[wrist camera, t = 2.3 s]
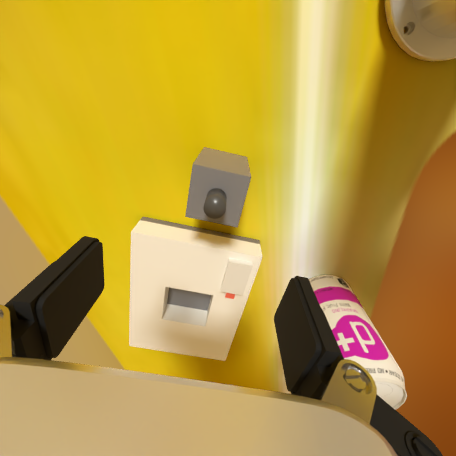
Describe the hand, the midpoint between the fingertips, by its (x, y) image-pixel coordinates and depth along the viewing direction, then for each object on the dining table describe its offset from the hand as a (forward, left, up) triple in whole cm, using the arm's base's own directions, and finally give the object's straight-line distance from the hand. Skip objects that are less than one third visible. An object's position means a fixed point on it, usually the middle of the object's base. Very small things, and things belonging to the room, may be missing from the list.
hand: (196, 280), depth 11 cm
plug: (0, 0, -19) cm, 19 cm away
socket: (+1, +19, -19) cm, 26 cm away
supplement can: (-19, +15, -19) cm, 31 cm away
